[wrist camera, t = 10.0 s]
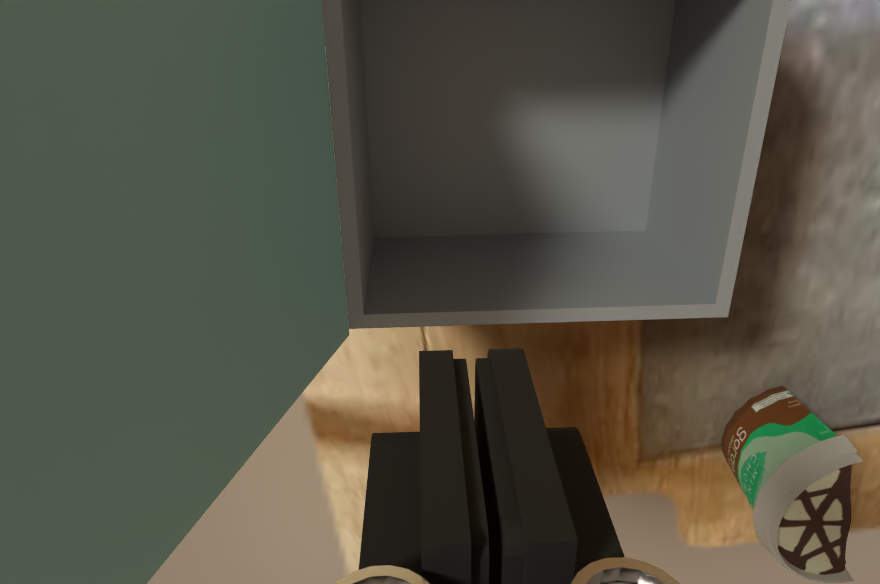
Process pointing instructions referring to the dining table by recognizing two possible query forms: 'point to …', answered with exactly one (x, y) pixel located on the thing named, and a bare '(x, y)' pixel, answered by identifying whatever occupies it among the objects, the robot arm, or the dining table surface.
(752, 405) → the food container
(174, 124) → the lid
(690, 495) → the dining table surface
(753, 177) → the carton
